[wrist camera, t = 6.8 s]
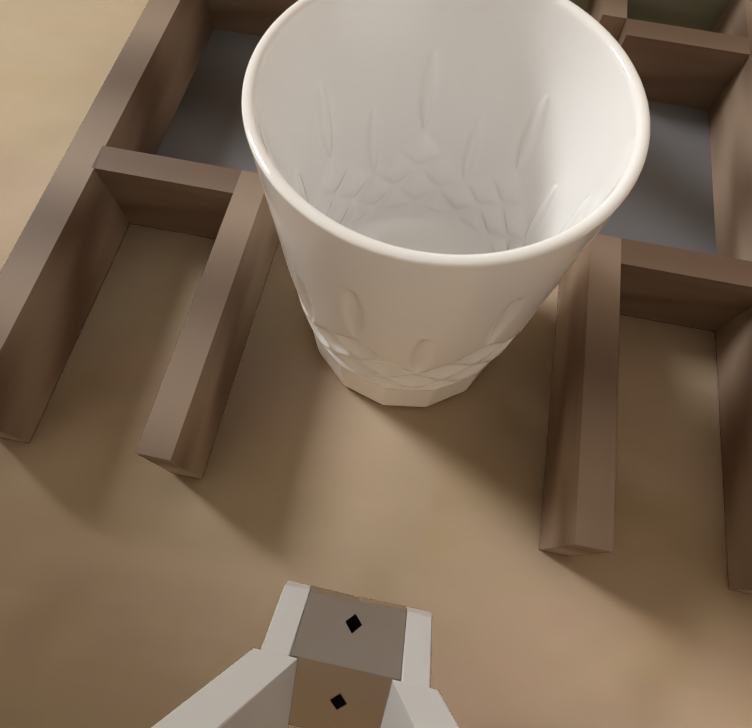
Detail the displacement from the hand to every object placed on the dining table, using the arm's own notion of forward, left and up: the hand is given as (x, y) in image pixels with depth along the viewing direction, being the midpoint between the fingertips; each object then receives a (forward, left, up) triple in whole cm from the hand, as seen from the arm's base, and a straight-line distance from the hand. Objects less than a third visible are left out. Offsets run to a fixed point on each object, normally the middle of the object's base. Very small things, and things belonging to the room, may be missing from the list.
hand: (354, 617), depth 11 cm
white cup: (+8, +5, -6) cm, 11 cm away
